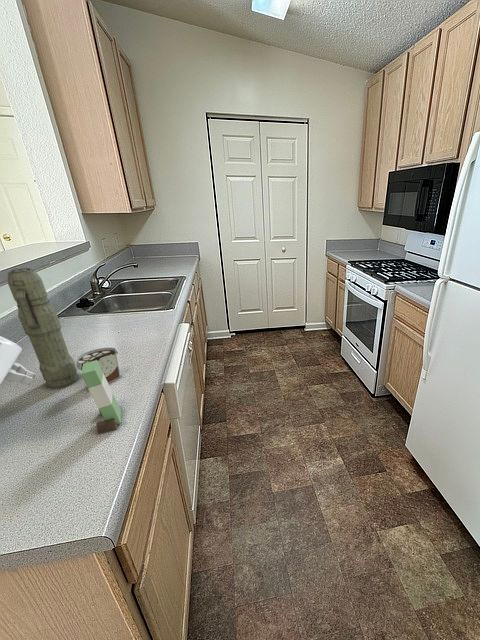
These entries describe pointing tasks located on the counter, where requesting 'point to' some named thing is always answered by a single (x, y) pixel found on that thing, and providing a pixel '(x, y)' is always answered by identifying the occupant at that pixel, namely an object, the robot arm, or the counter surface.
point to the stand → (106, 425)
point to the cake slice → (102, 362)
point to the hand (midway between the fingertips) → (32, 379)
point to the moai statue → (42, 328)
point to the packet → (101, 391)
